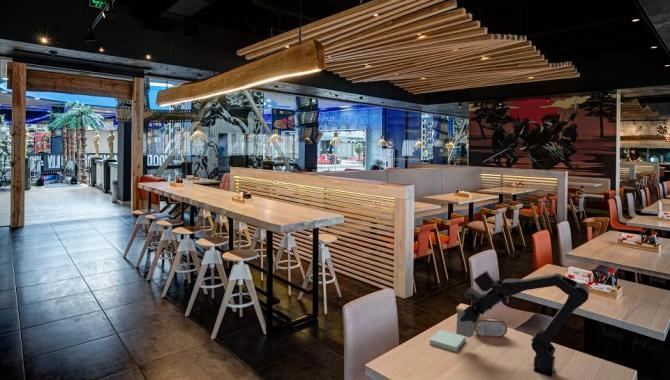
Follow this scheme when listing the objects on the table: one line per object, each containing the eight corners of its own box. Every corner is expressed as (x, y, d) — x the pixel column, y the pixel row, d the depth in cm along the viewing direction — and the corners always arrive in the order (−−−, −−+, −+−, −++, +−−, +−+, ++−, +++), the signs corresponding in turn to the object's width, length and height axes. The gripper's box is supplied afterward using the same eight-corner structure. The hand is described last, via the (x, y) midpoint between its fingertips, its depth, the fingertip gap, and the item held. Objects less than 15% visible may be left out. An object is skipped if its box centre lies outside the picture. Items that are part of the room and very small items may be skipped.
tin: (505, 335, 191) (506, 318, 190) (507, 338, 188) (508, 320, 187) (472, 333, 193) (473, 316, 192) (474, 336, 189) (474, 319, 188)
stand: (465, 340, 185) (465, 336, 185) (456, 351, 175) (456, 347, 175) (439, 333, 192) (439, 329, 192) (429, 343, 182) (429, 339, 182)
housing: (474, 333, 179) (475, 306, 178) (470, 338, 175) (472, 311, 173) (459, 329, 183) (460, 303, 182) (455, 333, 178) (456, 307, 177)
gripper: (482, 277, 181) (457, 296, 189) (470, 290, 166) (442, 309, 174) (500, 299, 178) (473, 316, 185) (489, 313, 163) (460, 332, 170)
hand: (462, 318), depth 179 cm, fingers closed on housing, 5 cm apart
